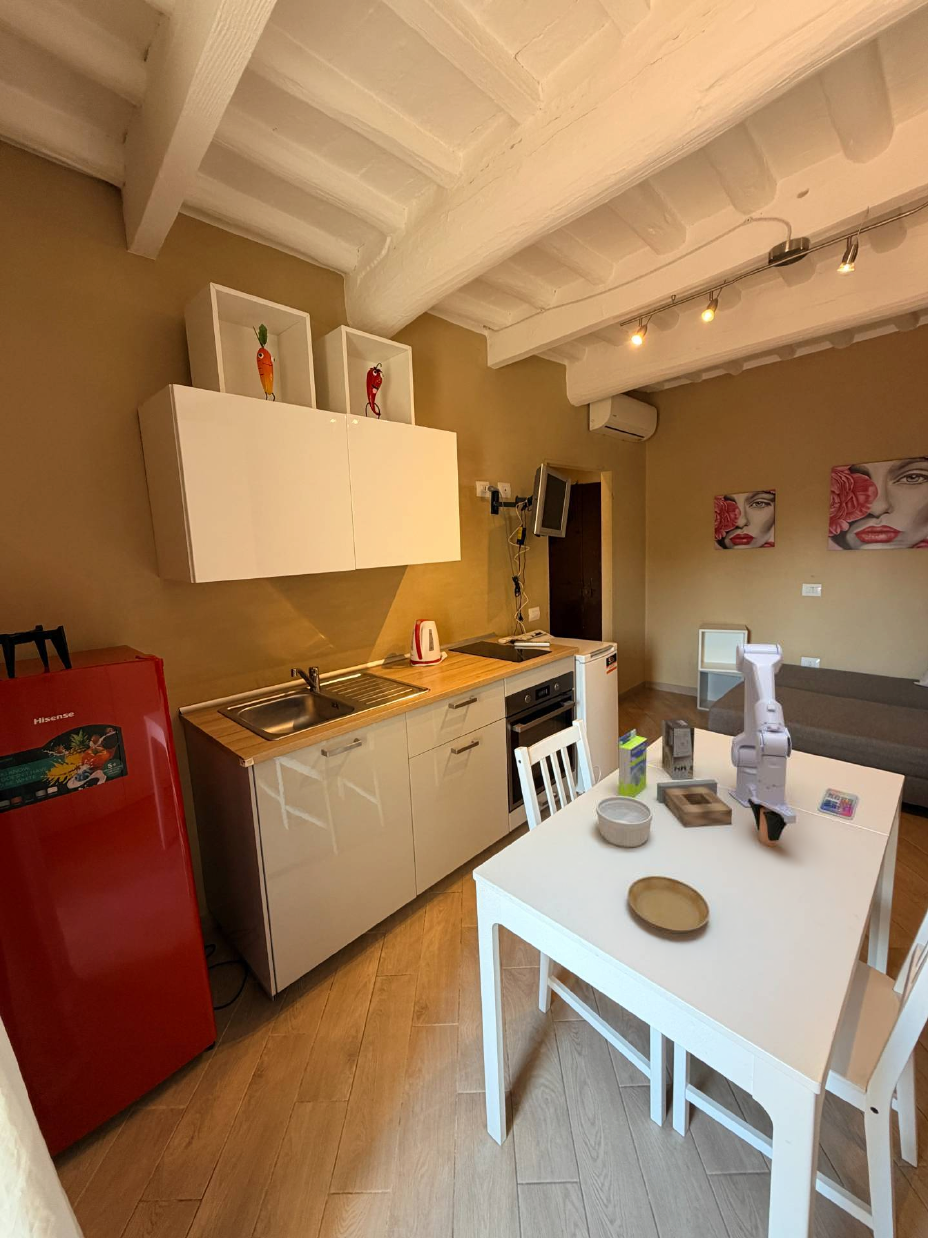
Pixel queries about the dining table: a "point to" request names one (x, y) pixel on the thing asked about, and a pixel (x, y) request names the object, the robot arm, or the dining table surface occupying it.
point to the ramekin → (624, 820)
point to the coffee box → (678, 748)
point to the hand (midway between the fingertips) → (767, 834)
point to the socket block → (697, 807)
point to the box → (632, 764)
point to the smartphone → (839, 804)
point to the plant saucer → (668, 904)
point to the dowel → (764, 829)
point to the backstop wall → (685, 786)
